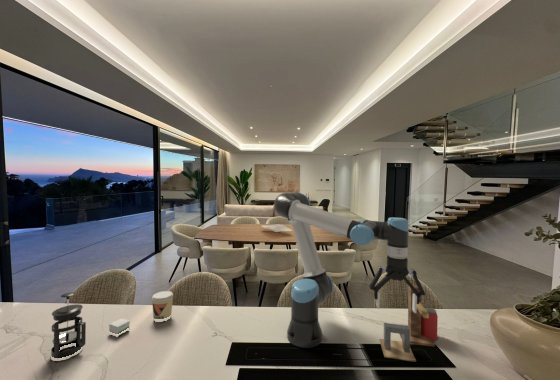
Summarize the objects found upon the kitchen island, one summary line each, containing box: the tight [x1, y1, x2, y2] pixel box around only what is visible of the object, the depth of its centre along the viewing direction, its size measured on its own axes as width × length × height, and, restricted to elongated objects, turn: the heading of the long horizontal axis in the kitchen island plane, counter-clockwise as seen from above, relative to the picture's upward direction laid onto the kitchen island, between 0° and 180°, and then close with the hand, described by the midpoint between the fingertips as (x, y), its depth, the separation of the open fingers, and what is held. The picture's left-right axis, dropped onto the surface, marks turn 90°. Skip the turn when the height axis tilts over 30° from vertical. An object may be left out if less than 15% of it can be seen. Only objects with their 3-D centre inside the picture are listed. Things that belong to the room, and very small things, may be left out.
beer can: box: [421, 306, 439, 341], centre depth 107 cm, size 7×7×12 cm
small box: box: [108, 317, 130, 334], centre depth 107 cm, size 6×6×5 cm
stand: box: [399, 284, 436, 348], centre depth 103 cm, size 12×20×22 cm, turn 167°
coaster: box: [379, 338, 417, 363], centre depth 97 cm, size 11×11×1 cm
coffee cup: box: [151, 290, 174, 320], centre depth 119 cm, size 9×9×12 cm
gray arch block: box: [383, 322, 411, 353], centre depth 97 cm, size 9×3×9 cm, turn 77°
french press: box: [50, 291, 87, 358], centre depth 94 cm, size 12×9×23 cm
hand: (395, 309), depth 98 cm, fingers open, 13 cm apart
